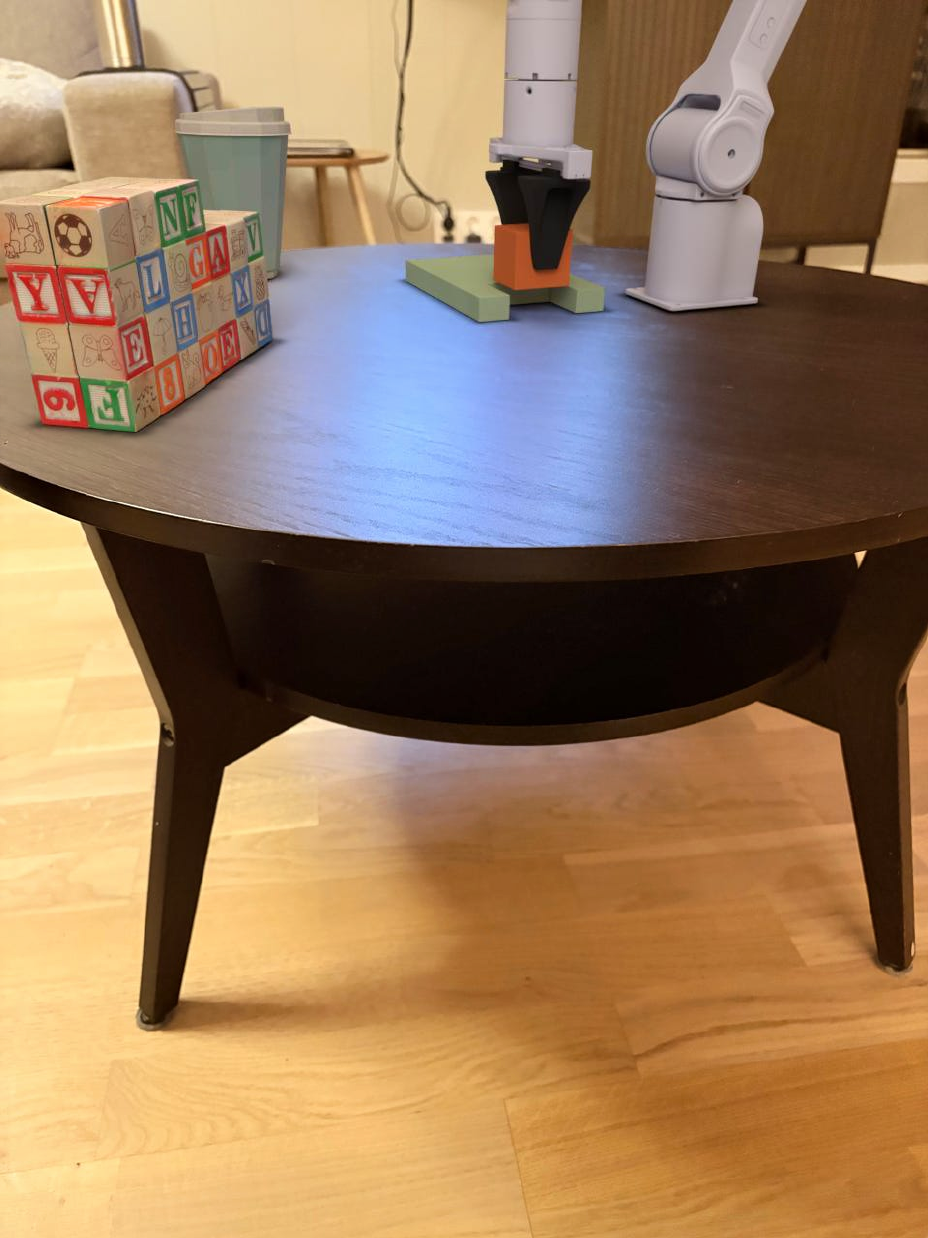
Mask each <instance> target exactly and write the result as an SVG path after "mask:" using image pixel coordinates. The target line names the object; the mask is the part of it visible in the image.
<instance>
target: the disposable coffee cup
mask: <svg viewBox="0 0 928 1238" xmlns="http://www.w3.org/2000/svg"><path fill="white" fill-rule="evenodd" d="M291 129H292V128H291V123H290V122H289V121H288V120H285V108H284V107H283V106H248V107H241V108H240V107H239V108H227V109H216V110H206V111H193V112H182V113H181V112H180V113H179V118H176V119H175V121H174V133H175V134H176V136H177V139H178V143H179V148H180V152H181V154H182V155H181V156H182V160H183V164H184V168H185V172H186V177H187V179H194V180H199V184H200V191H201V199H202V206H203V210H216V211H219V210H230V211H250V212H259V216H260V224H261V237H262V245H263V256H264V257H265V260H266V270H267V279H274V278H275V277H277V276H278V274H279V273H278V272H279V268H281V259H282V258H281V256H282V243H283V242H282V240H283V229H284V228H283V227H284V209H285V194H286V180H287V179H286V178H287V164H288V150H289V149H288V148H289V136H290V135H292V130H291Z"/></svg>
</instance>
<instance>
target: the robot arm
mask: <svg viewBox="0 0 928 1238" xmlns="http://www.w3.org/2000/svg"><path fill="white" fill-rule="evenodd" d="M807 1H808V0H732V2H731V4H730V6H729V9H728V10H727V13H726V16H724V20H723V22H722V24H721V26H720V28H719V31H718V33H717V35H716V38H715V40H714V42H713V44H712V47H711V49H710V51H709V53H708V55H707V58H706V60H705V61H704V62H703V63H701V65H700V66H699V67H698V68H697V69H696V70H695V71H694V72H693V73H692V74H690V76H688V78H687V79H685V81H684V82H683V83H682V84H681V85H680V87H679V88H678V91H677V92H676V95H675V97H674V99H673V101H672V102H671V104H670V105H669V106H668V107H667V109H666V110H664V111H663V112H662V113H661V114H660V115H659V116H658V117H657V118H656V120H655V121H654V122H653V124H652V125H651V127H650V129H649V132H648V135H647V138H646V143H645V159H646V163H647V166H648V168H649V170H650V172H651V173H652V175H653V176H654V177H655V184H654V185H655V186H654V193H655V194H654V198H653V206H652V215H651V224H650V233H649V245H648V251H647V253H648V254H647V262H646V263H647V264H646V271H645V272H646V273H645V282H644V286H641V287H630V288H629V287H628V288H626V289H625V291H624V292H625V295H627V296H630V297H632V298H635V299H638V300H641V301H643V302H644V303H645V302H646V303H648V304H651V305H653V306H655V307H659V308H661V309H663V310H666V311H669V312H679V311H680V312H681V311H691V310H702V309H712V308H721V307H722V308H724V307H733V306H744V305H745V306H746V305H754V304H757V303H758V300H759V298H758V297H756V296H754V289H755V283H756V277H757V272H758V265H759V259H760V253H761V247H762V241H763V235H764V217H763V212H762V209H761V206H760V204H759V202H757V200H755V199H754V198H753V197H752V196H750V195H747V194H743V189H744V188H745V187H746V186H747V185H748V184H749V183H750V182H751V181H752V180H753V178H754V177H755V175H756V174H757V172H758V169H759V168H760V165H761V162H762V158H763V153H764V145H765V137H766V133H767V129H768V127H769V124H770V123H771V120H772V118H773V116H774V114H775V109H774V104H773V102H772V98H771V96H770V93H769V89H768V83H769V81H770V78H771V77H772V75H773V73H774V71H775V68H776V67H777V64H778V62H779V60H780V58H781V56H782V54H783V51H784V49H785V48H786V45H787V43H788V41H789V39H790V38H791V35H792V33H793V30H794V28H795V27H796V24H797V23H798V20H799V18H800V17H801V14H802V12H803V9H805V8H804V7H805V5H806V3H807ZM582 5H583V0H506V11H505V41H504V42H505V43H504V70H503V71H504V75H503V78H504V81H503V107H502V108H503V109H502V136H501V137H500V136H498V137H497V136H496V137H489V144H488V153H489V154H488V155H489V156H488V157H489V159H488V160H489V163H492V164H500V163H501V164H502V166H500V168H499V169H494V170H493V169H492V170H491V169H490V170H486V171H485V172H484V176H485V181H486V183H487V185H488V187H489V188H490V191H491V193H492V196H493V199H494V202H495V204H496V209H497V211H498V215H499V219H500V225H509V224H528V223H529V233H530V253H531V260H532V265H533V269H535V270H548V269H557V268H558V266H559V263H560V259H561V256H562V253H563V249H564V246H565V242H566V239H567V235H568V232H569V229H571V227H572V223H573V221H574V219H575V216H576V214H577V212H578V210H579V208H580V206H581V204H582V202H583V201H584V199H585V197H586V196H587V195H588V193H589V191H590V190H591V184H592V183H591V182H592V181H591V178H592V168H593V167H592V166H593V165H592V164H593V155H594V154H593V153H594V151H593V150H590V149H586V148H584V147H583V146H582V147H581V146H580V145H578V144H576V143H574V136H575V123H576V121H575V120H576V105H577V91H578V90H577V89H578V73H579V59H580V43H581V42H580V41H581V29H582V28H581V27H582V11H583V10H582V8H583V7H582ZM529 159H533V160H537V161H533V160H529Z"/></svg>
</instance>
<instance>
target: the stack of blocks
mask: <svg viewBox="0 0 928 1238" xmlns="http://www.w3.org/2000/svg"><path fill="white" fill-rule="evenodd" d="M0 245H1V249H2V252H3V258H4V260H5V262H6V263H5V264H4V269H5V272H6V277H7V283H8V287H9V291H10V296H11V299H12V305H13V307H14V310H15V311H14V312H15V315H16V318H17V320H18V322H19V328H20V332H21V336H22V340H23V343H24V347H25V353H26V357H27V361H28V365H29V369H30V372H31V373H30V376H31V380H32V385H33V390H34V395H35V397H36V401H37V406H38V412H39V416H40V420H41V423H42V424H44V425H46V426H47V425H49V426H58V427H70V428H71V427H72V428H83V429H87V428H91V429H96V430H97V429H98V430H107V431H119V432H132V433H137V432H139V431H140V430H141V429H144V428H145V427H146V426H147V425H149V424H151V423H152V422H153V421H155V420H156V419H158V418H159V417H160V416H163V415H165V414H166V413H168V412H170V411H171V410H172V409H174V408H176V407H177V406H178V405H179V404H182V403H183V402H184V400H187V399H188V398H190V397H192V396H193V395H195V394H196V393H198V392H200V390H202V389H203V388H204V387H206V385H207V384H209V383H210V382H211V381H212V380H214V379H216V378H217V377H219V376H221V374H223V372H226V370H228V369H230V368H232V367H233V366H234V365H236V364H237V363H238V362H239V361H242V360H244V359H245V358H246V357H248V356H250V354H251V355H252V353H254V352H256V351H257V350H258V349H260V348H261V347H263V346H265V345H266V344H268V343H269V342H270V341H272V340H273V338H274V337H273V336H274V335H273V327H272V326H273V325H272V315H271V305H270V304H271V303H270V298H269V297H270V292H269V283H268V281H269V280H268V279H267V270H266V260H265V257H264V256H263V245H262V237H261V224H260V216H259V212H250V211H230V210H219V211H216V210H203V206H202V199H201V191H200V184H199V180H194V179H188V178H187V179H186V178H157V177H155V178H153V177H131V176H130V177H127V176H108V177H103V178H102V177H101V178H98V179H93V180H88V181H83V182H82V181H81V182H77V183H72V184H68V185H63V186H61V187H60V188H53V189H50V190H46V191H40V192H37V193H33V194H29V195H23V196H22V195H21V196H17V197H12V198H7V199H2V200H0Z"/></svg>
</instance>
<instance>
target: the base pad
mask: <svg viewBox="0 0 928 1238" xmlns="http://www.w3.org/2000/svg"><path fill="white" fill-rule="evenodd" d="M493 269H494V253H492V254H478V255H461V256H448V257H445V256H444V257H430V258H417V259H406V260H405V282H407V283H408V284H411V285H412V286H413V287H416V288H418V289H419V290H421V291H423V292H424V293H427V294H428V295H429V296H432V297H433V298H435V299H437V300H439V301H440V302H442V303H444V304H446V305H448V306H450V307H451V308H453V309H454V310H457V311H458V312H461V313H462V314H464V315H465V316H467V317H469V318H470V319H473V320H474V321H476V322H478V323H487V322H498V321H509V320H510V307H511V306H512V305H513V306H515V305H525V304H536V303H547V302H549V303H552V304H554V305H556V306H559V307H561V308H563V309H565V310H567V311H570V312H572V313H573V314H586V313H597V312H604V308H605V297H606V287H605V286H602V285H599V284H598V283H594V282H592V281H589V280H587V279H585V278H582V277H580V276H577V275H575V274H571V273H570V280H569V286H562V287H550V288H537V289H524V290H513V289H511V288H509V287H507V286H505V285H503V284H500V283H498V282H496V281H494V280H493Z"/></svg>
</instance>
